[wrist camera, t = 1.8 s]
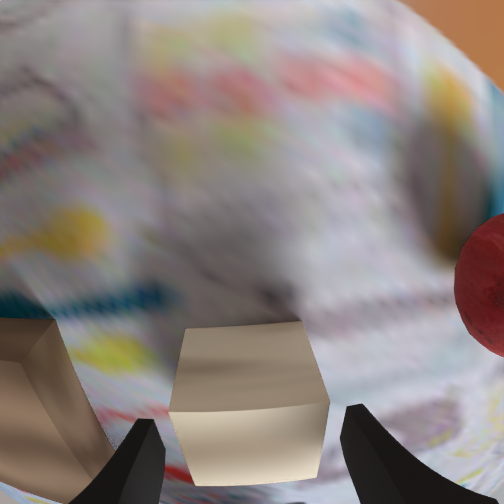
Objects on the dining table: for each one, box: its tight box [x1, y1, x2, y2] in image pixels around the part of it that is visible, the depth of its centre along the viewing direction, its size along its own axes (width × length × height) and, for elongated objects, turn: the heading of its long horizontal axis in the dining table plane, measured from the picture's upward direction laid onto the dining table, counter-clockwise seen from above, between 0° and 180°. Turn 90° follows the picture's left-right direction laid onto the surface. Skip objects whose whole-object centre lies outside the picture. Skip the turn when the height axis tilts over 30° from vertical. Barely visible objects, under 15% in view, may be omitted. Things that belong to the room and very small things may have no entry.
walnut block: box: [0, 317, 115, 504], centre depth 14 cm, size 14×14×4 cm
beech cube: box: [169, 321, 330, 486], centre depth 12 cm, size 5×5×5 cm
